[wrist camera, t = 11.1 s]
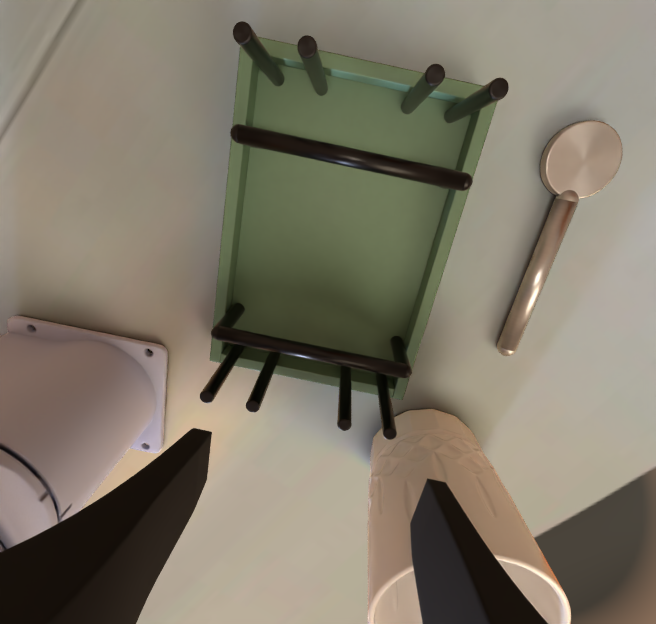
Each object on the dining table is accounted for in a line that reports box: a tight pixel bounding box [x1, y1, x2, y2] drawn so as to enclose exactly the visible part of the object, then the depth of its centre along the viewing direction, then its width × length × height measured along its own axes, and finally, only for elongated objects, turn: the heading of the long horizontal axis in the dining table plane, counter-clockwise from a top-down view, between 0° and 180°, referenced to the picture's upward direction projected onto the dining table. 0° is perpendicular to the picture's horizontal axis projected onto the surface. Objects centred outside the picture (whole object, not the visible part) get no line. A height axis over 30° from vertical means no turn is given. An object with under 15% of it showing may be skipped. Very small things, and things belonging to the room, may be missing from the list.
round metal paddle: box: [497, 120, 622, 356], centre depth 19 cm, size 12×3×1 cm, turn 169°
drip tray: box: [210, 37, 497, 400], centre depth 19 cm, size 16×11×2 cm
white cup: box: [368, 409, 571, 624], centre depth 20 cm, size 8×8×10 cm
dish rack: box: [200, 21, 508, 440], centre depth 17 cm, size 14×10×6 cm
